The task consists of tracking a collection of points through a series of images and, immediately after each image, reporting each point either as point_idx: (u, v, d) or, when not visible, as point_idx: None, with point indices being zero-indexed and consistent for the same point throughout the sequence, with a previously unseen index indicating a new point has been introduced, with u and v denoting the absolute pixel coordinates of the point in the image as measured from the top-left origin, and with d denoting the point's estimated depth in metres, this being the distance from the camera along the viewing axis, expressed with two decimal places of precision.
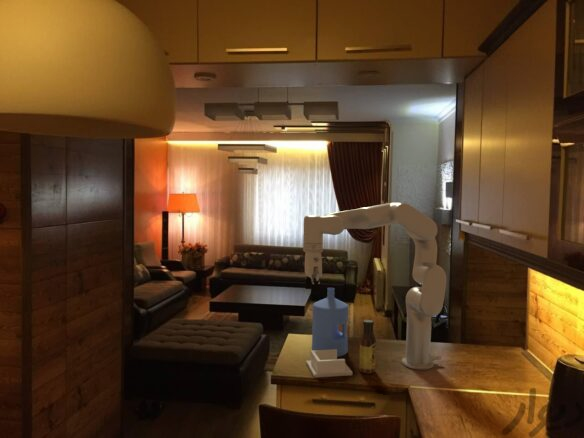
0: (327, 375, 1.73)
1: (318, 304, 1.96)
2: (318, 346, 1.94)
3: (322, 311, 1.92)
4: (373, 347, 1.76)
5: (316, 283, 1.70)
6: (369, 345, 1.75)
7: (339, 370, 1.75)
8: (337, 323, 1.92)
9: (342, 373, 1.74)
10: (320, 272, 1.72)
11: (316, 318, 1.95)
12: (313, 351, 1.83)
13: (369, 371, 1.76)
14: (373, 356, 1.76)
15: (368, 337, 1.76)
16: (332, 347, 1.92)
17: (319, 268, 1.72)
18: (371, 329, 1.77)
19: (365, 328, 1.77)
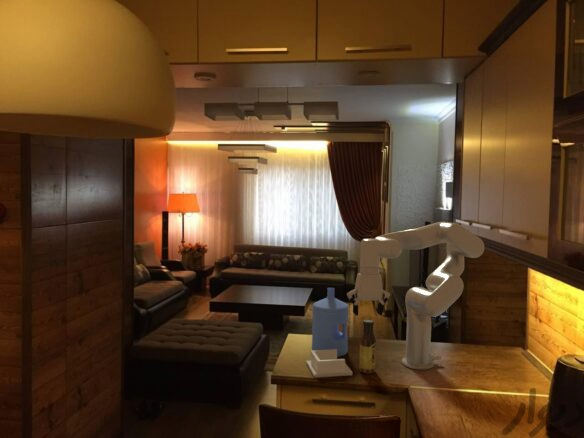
0: (327, 375, 1.73)
1: (318, 304, 1.96)
2: (318, 346, 1.94)
3: (322, 311, 1.92)
4: (373, 347, 1.76)
5: None
6: (369, 345, 1.75)
7: (339, 370, 1.75)
8: (337, 323, 1.92)
9: (342, 373, 1.74)
10: None
11: (316, 318, 1.95)
12: (313, 351, 1.83)
13: (369, 371, 1.76)
14: (373, 356, 1.76)
15: (368, 337, 1.76)
16: (332, 347, 1.92)
17: None
18: (371, 329, 1.77)
19: (365, 328, 1.77)
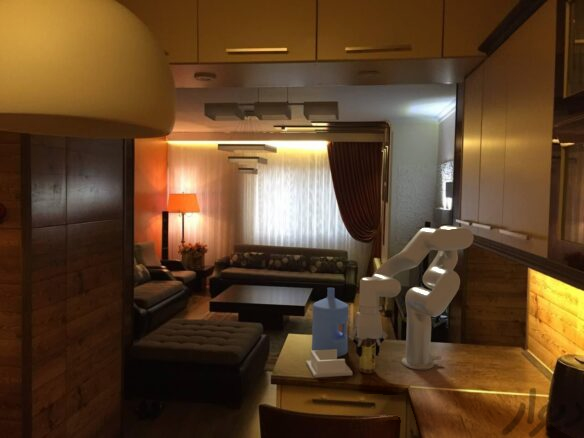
0: (327, 375, 1.73)
1: (318, 304, 1.96)
2: (318, 346, 1.94)
3: (322, 311, 1.92)
4: (373, 347, 1.76)
5: None
6: (369, 345, 1.75)
7: (339, 370, 1.75)
8: (337, 323, 1.92)
9: (342, 373, 1.74)
10: None
11: (316, 318, 1.95)
12: (313, 351, 1.83)
13: (369, 371, 1.76)
14: (373, 356, 1.76)
15: None
16: (332, 347, 1.92)
17: None
18: None
19: None
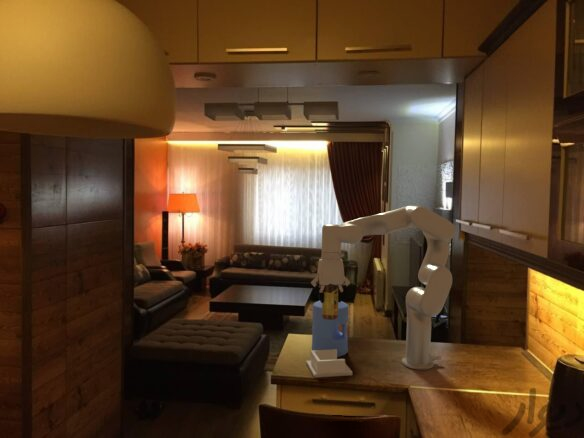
0: (327, 375, 1.73)
1: (318, 304, 1.96)
2: (318, 346, 1.94)
3: None
4: (335, 293, 1.76)
5: None
6: (331, 290, 1.75)
7: (339, 370, 1.75)
8: (337, 323, 1.92)
9: (342, 373, 1.74)
10: None
11: (316, 318, 1.95)
12: (313, 351, 1.83)
13: (331, 317, 1.76)
14: (335, 302, 1.76)
15: None
16: (332, 347, 1.92)
17: None
18: None
19: None
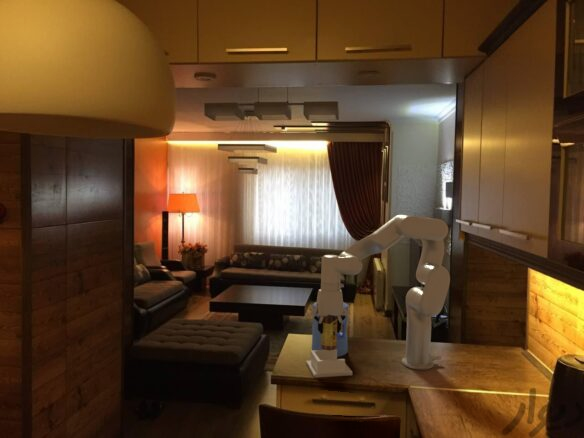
0: (327, 375, 1.73)
1: None
2: (318, 346, 1.94)
3: None
4: (334, 324, 1.76)
5: None
6: (330, 321, 1.76)
7: (339, 370, 1.75)
8: None
9: (342, 373, 1.74)
10: None
11: None
12: (313, 351, 1.83)
13: (330, 348, 1.76)
14: (334, 333, 1.77)
15: None
16: None
17: None
18: None
19: None
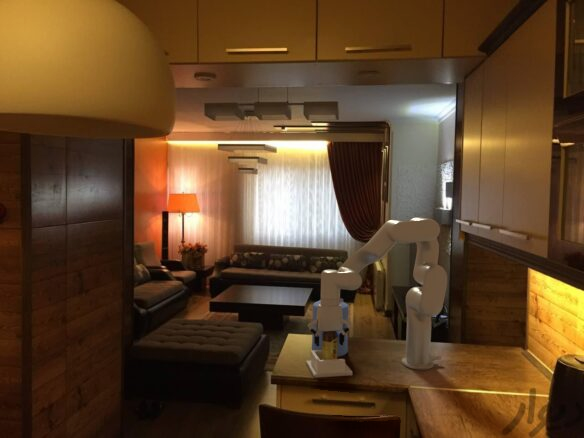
0: (327, 375, 1.73)
1: (318, 304, 1.96)
2: (318, 346, 1.94)
3: None
4: (334, 342, 1.77)
5: None
6: (330, 340, 1.76)
7: (339, 370, 1.75)
8: None
9: (342, 373, 1.74)
10: None
11: None
12: (313, 351, 1.83)
13: None
14: (334, 351, 1.77)
15: (329, 332, 1.77)
16: None
17: None
18: None
19: None
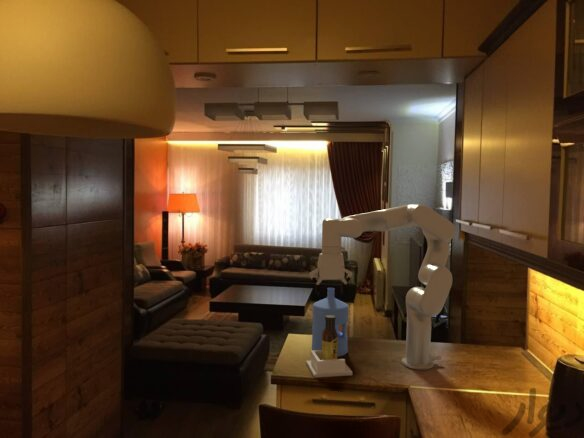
0: (327, 375, 1.73)
1: (318, 304, 1.96)
2: (318, 346, 1.94)
3: (322, 311, 1.92)
4: (334, 342, 1.77)
5: None
6: (330, 340, 1.77)
7: (339, 370, 1.75)
8: (337, 323, 1.92)
9: (342, 373, 1.74)
10: None
11: (316, 318, 1.95)
12: (313, 351, 1.83)
13: None
14: (334, 351, 1.77)
15: (329, 332, 1.77)
16: None
17: None
18: (333, 324, 1.78)
19: (327, 323, 1.78)
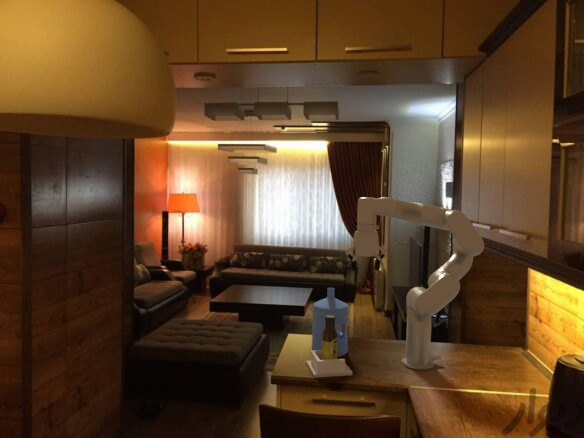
0: (327, 375, 1.73)
1: (318, 304, 1.96)
2: (318, 346, 1.94)
3: (322, 311, 1.92)
4: (334, 342, 1.77)
5: None
6: (330, 340, 1.77)
7: (339, 370, 1.75)
8: (337, 323, 1.92)
9: (342, 373, 1.74)
10: None
11: (316, 318, 1.95)
12: (313, 351, 1.83)
13: None
14: (334, 351, 1.77)
15: (329, 332, 1.77)
16: None
17: None
18: (333, 324, 1.78)
19: (327, 323, 1.78)
